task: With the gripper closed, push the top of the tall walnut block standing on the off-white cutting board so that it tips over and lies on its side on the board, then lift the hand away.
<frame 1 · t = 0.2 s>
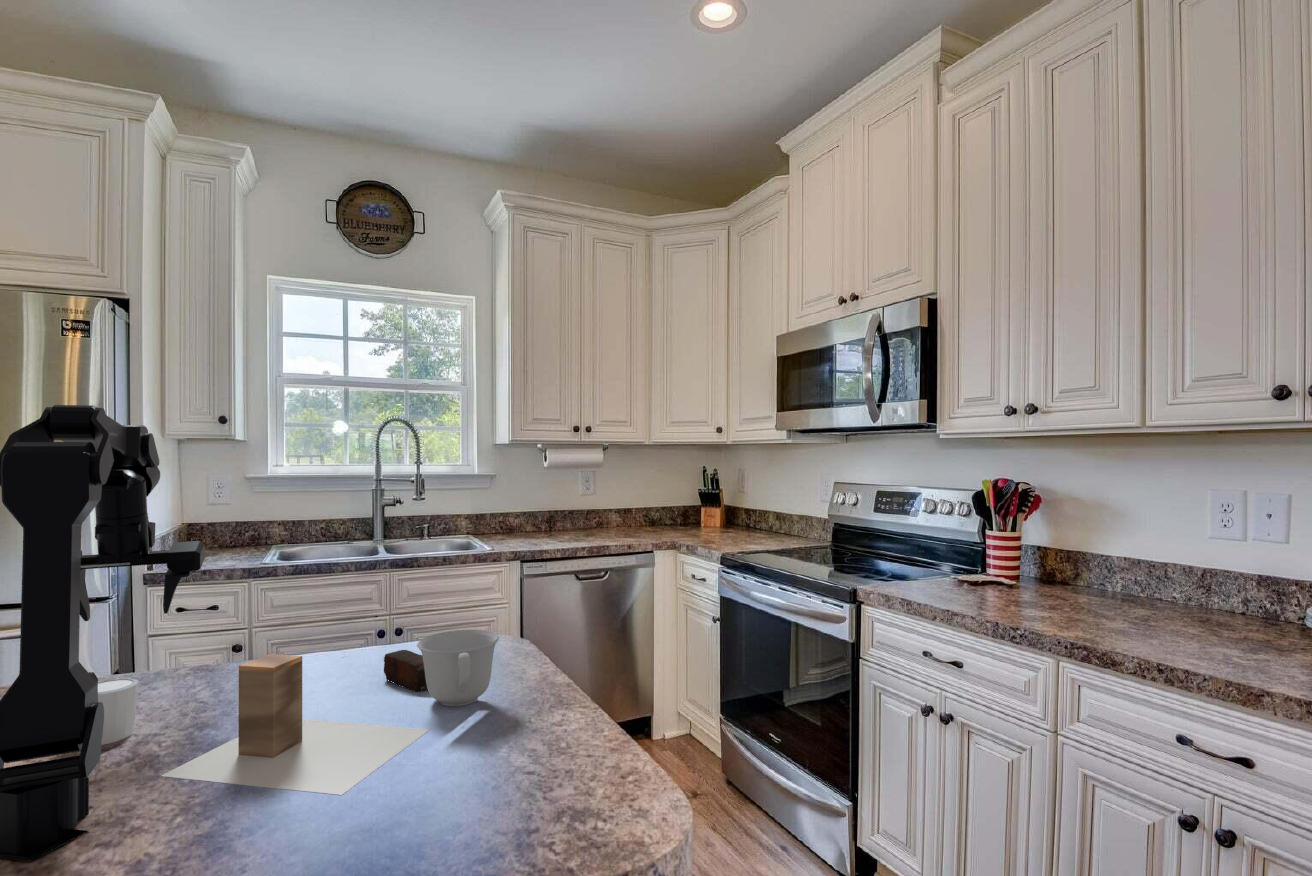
hand: (127, 616, 98), 15 cm above the countertop, tool pointing down, fingers open, 9 cm apart
shot glass: (107, 738, 93), on the countertop
brick: (411, 685, 113), on the countertop
teacup: (460, 710, 102), on the countertop
walnut block: (271, 747, 86), point 1 cm above the countertop, touching cutting board
cutting board: (305, 759, 85), on the countertop
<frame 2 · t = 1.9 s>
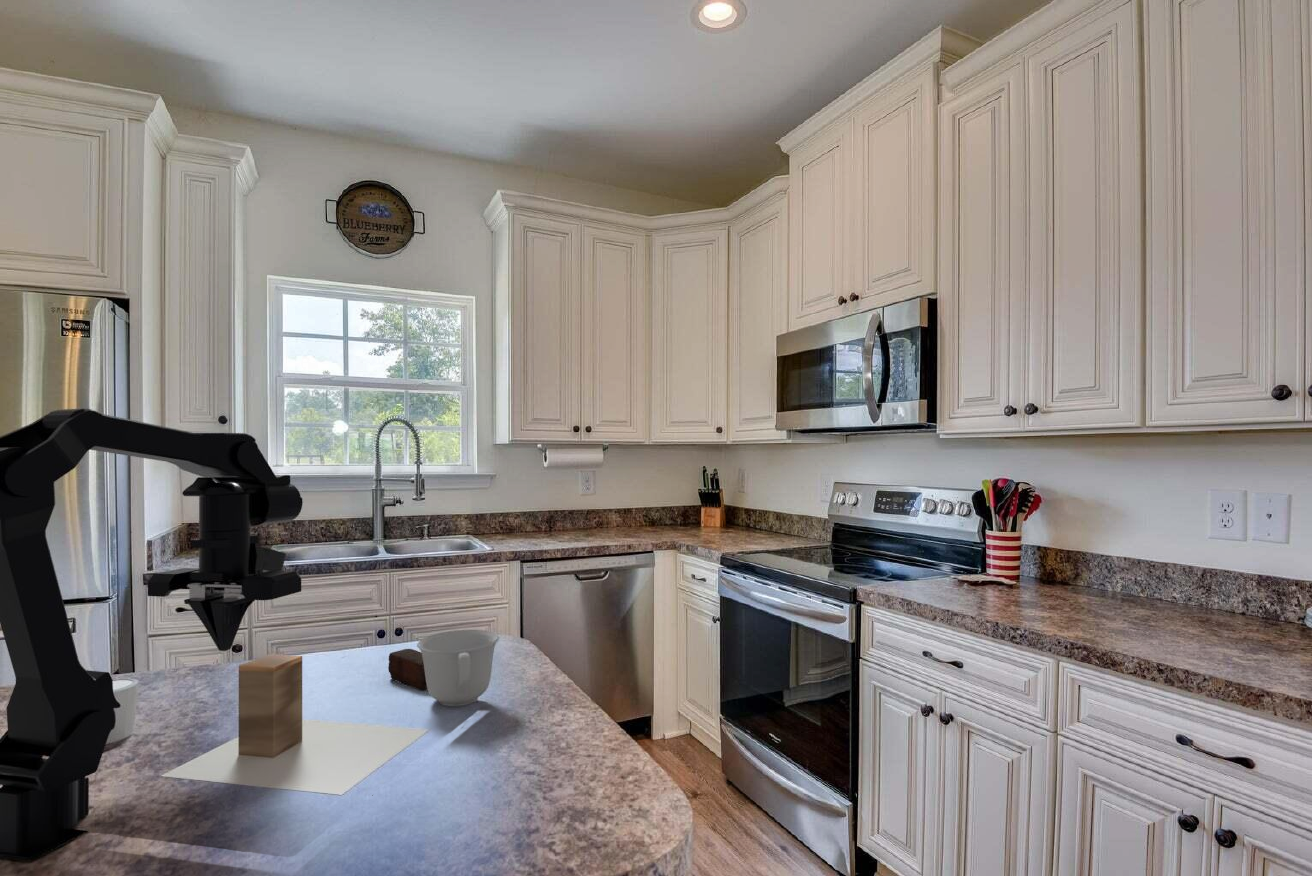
hand: (225, 650, 88), 13 cm above the countertop, tool pointing down, fingers closed
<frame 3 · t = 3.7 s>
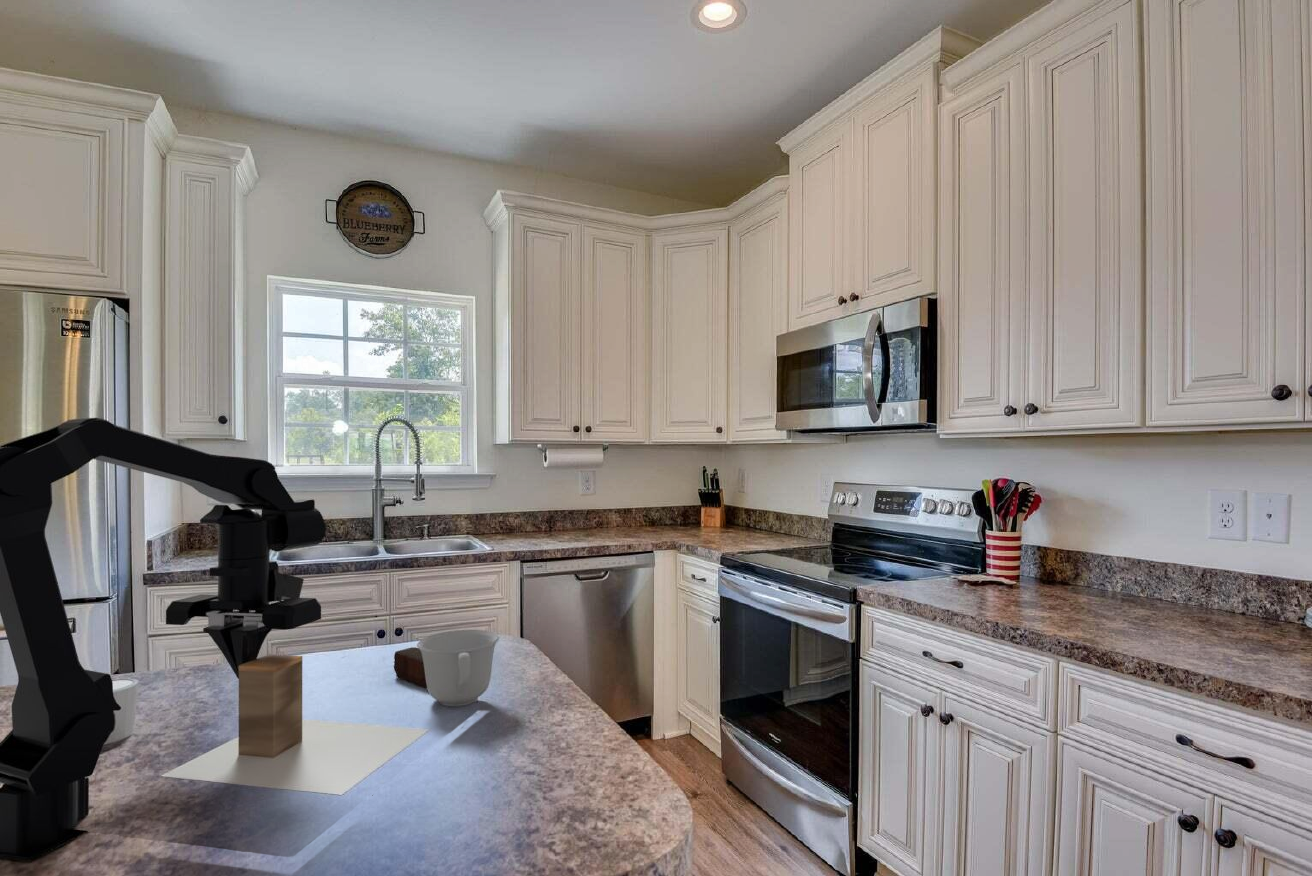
hand: (244, 678, 87), 10 cm above the countertop, tool pointing down, fingers closed
walnut block: (271, 747, 86), point 1 cm above the countertop, touching cutting board, gripper
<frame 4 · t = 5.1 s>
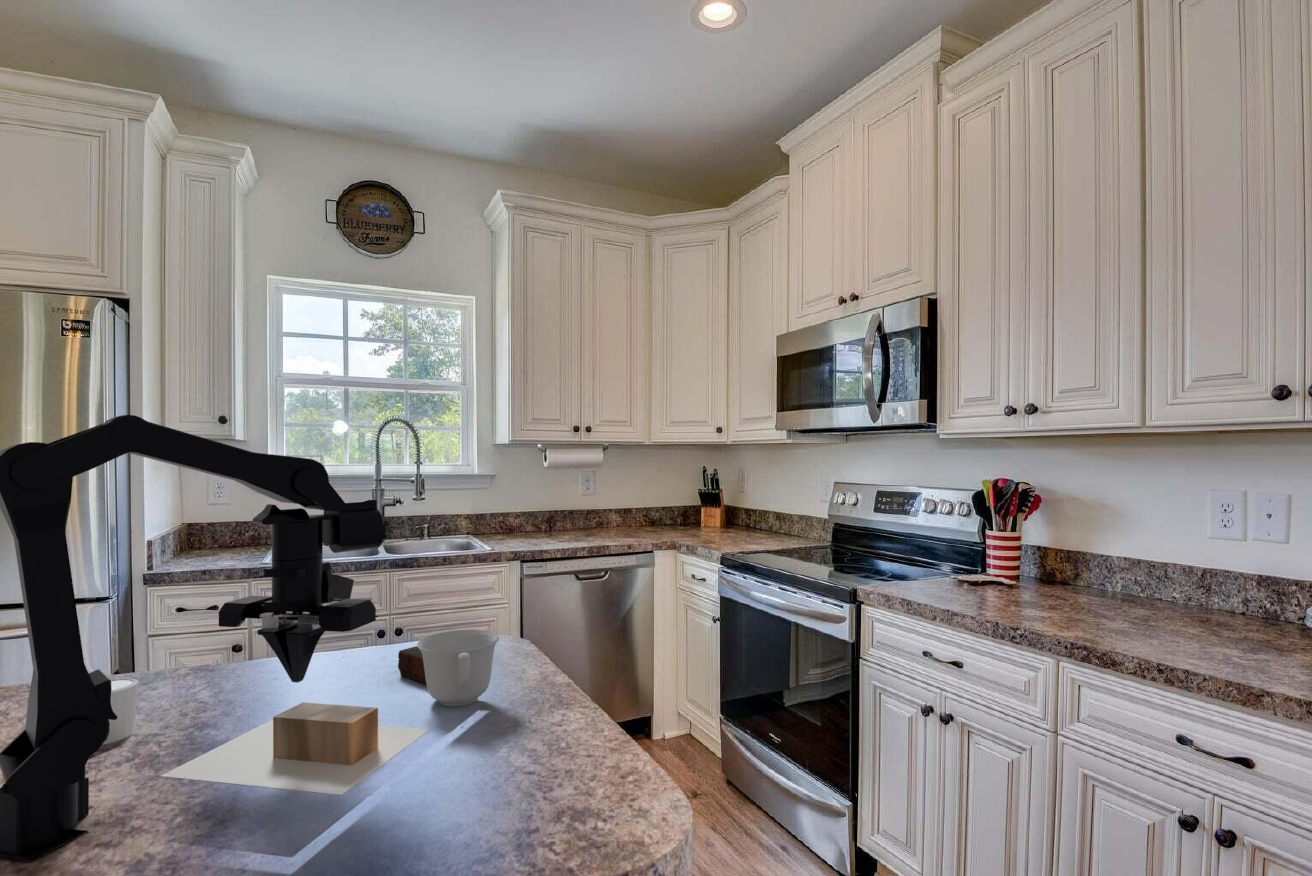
hand: (297, 681, 86), 10 cm above the countertop, tool pointing down, fingers closed
walnut block: (288, 729, 86), point 3 cm above the countertop, tilted 90°, touching cutting board
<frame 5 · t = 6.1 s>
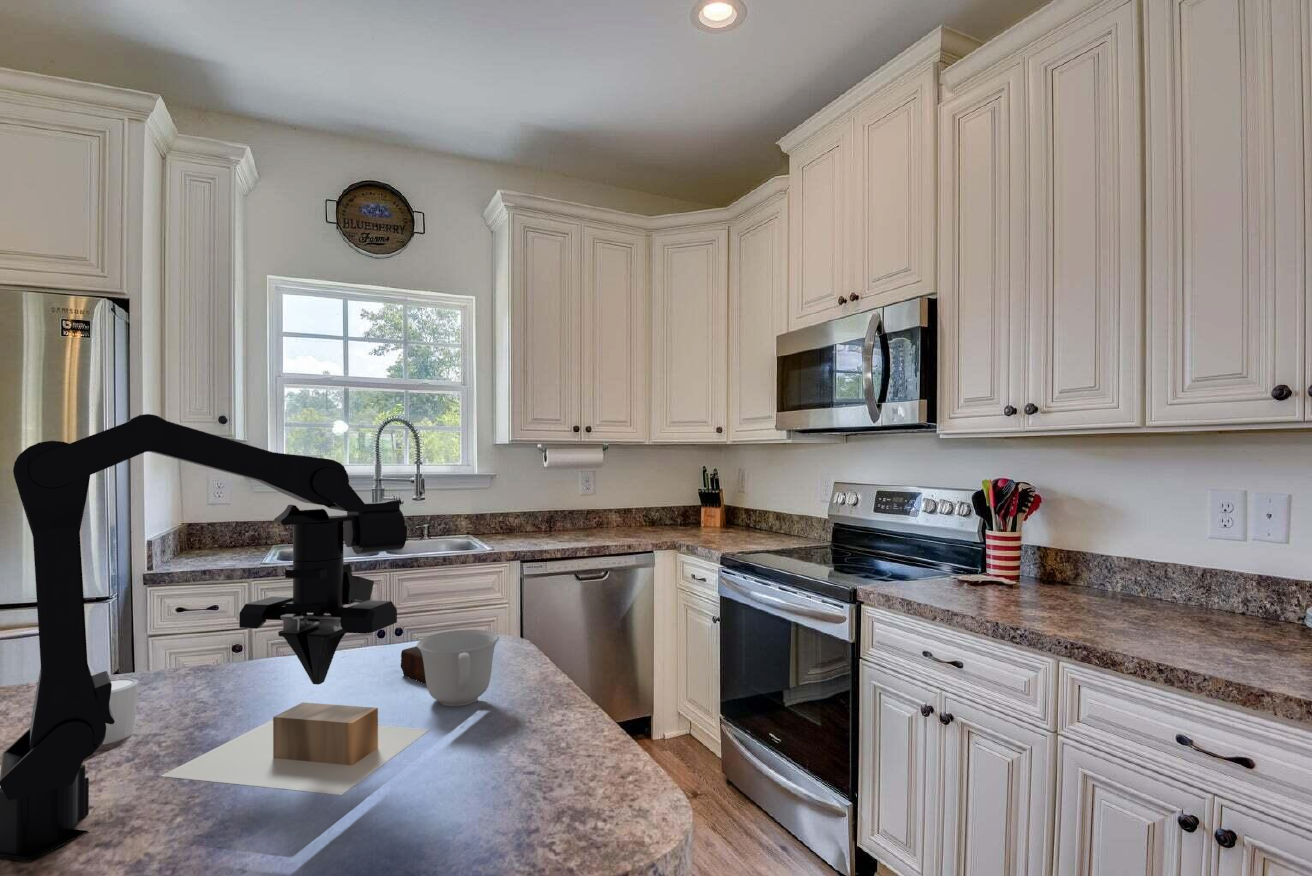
hand: (318, 683, 85), 10 cm above the countertop, tool pointing down, fingers closed
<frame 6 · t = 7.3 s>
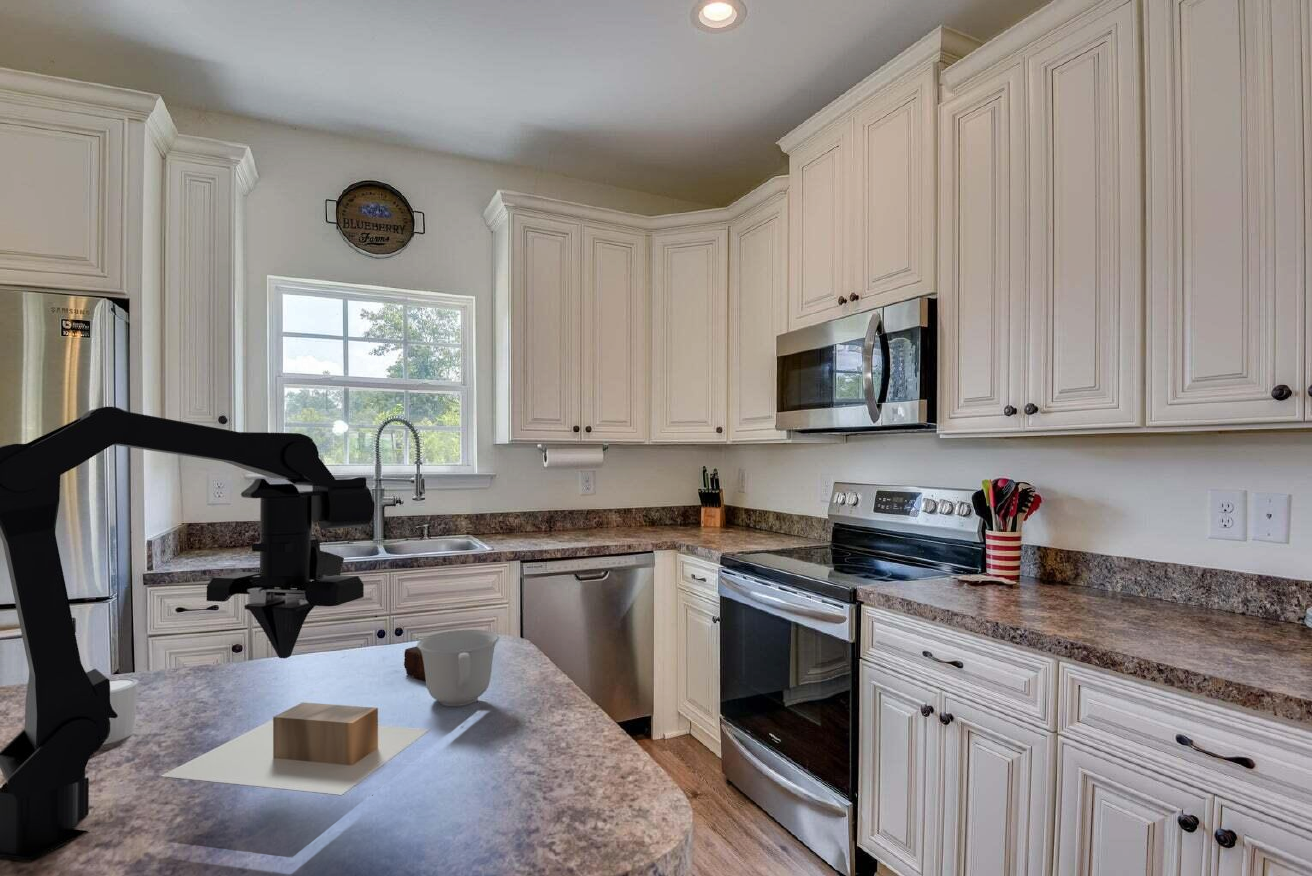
hand: (284, 657, 85), 13 cm above the countertop, tool pointing down, fingers closed
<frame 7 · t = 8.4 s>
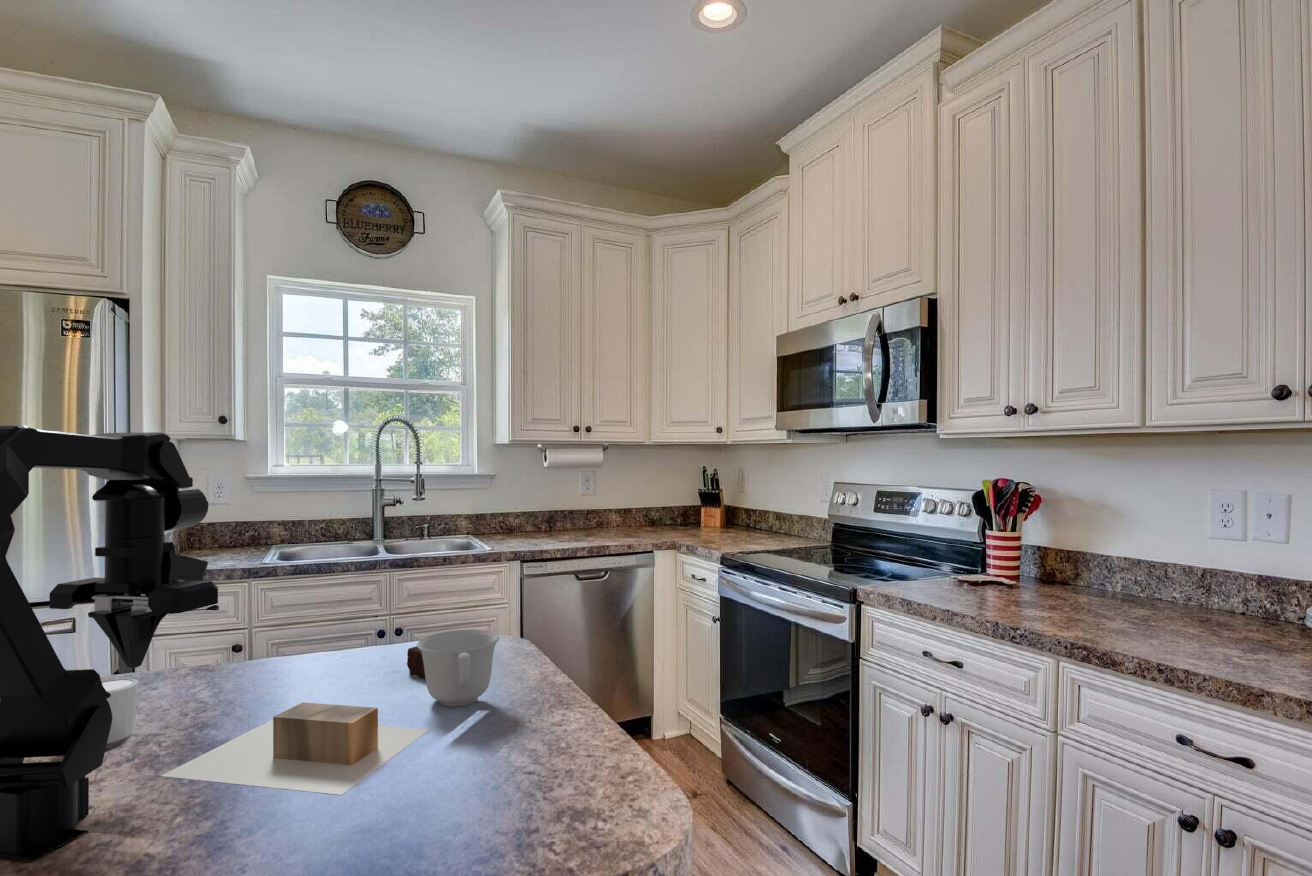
hand: (134, 667, 81), 13 cm above the countertop, tool pointing down, fingers closed
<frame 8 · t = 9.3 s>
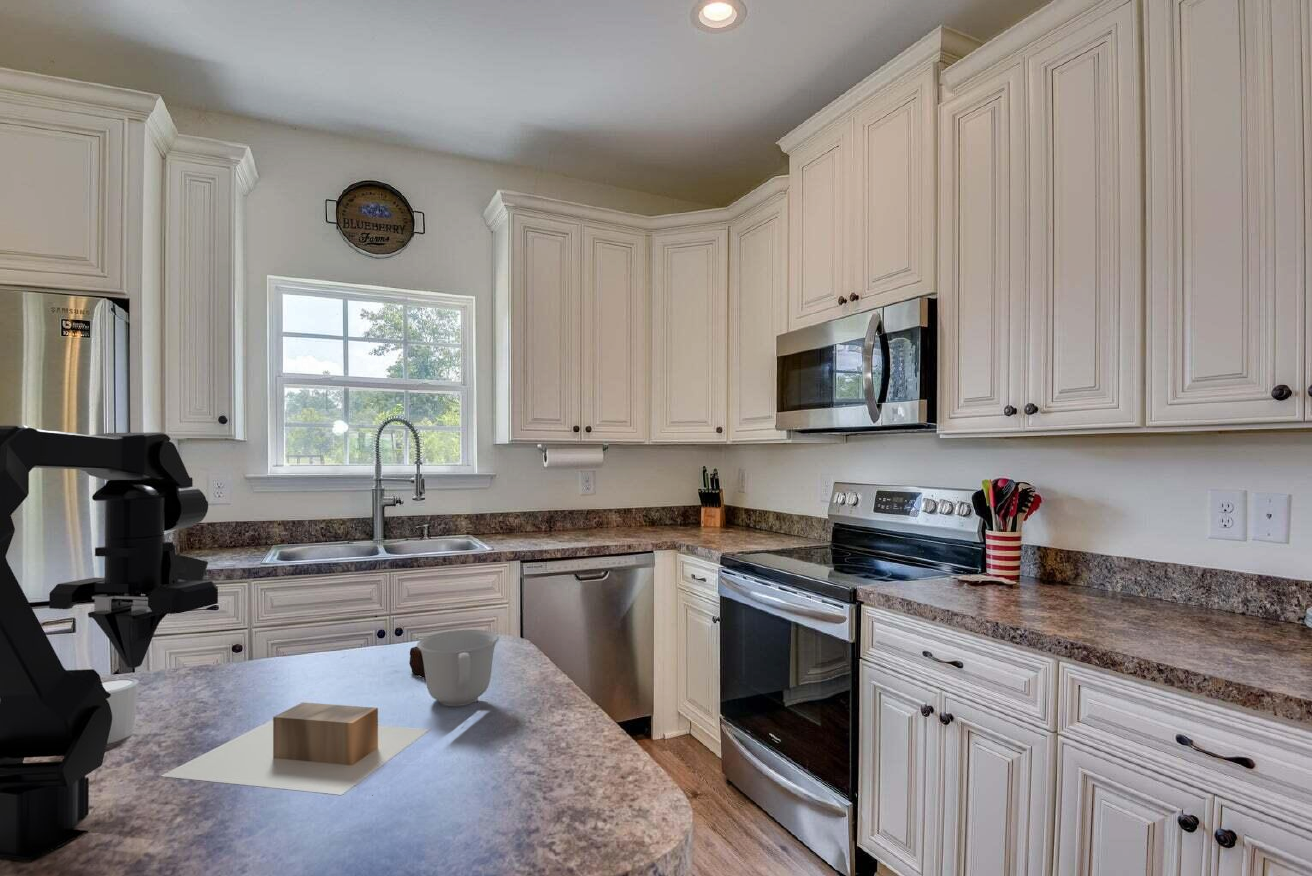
hand: (134, 667, 81), 13 cm above the countertop, tool pointing down, fingers closed
at the end: walnut block tilted 90°; walnut block inside the target area on the cutting board (5.0 cm from its centre), point 3.5 cm above the cutting board's base; walnut block touching cutting board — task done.
